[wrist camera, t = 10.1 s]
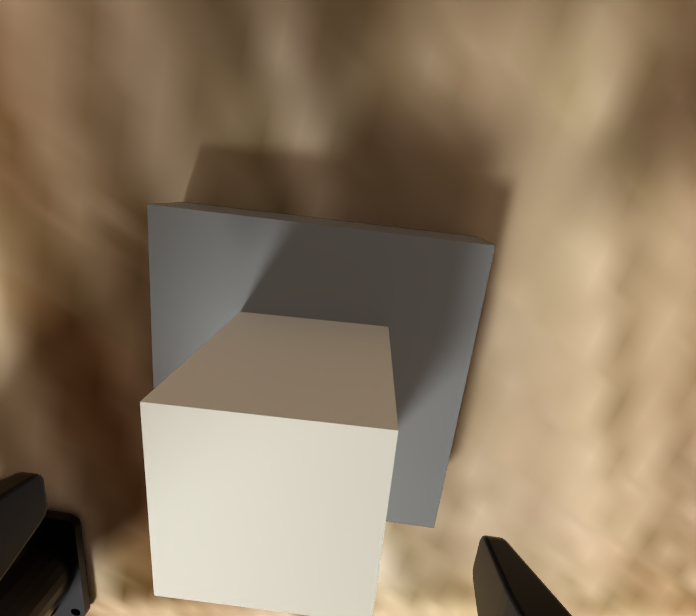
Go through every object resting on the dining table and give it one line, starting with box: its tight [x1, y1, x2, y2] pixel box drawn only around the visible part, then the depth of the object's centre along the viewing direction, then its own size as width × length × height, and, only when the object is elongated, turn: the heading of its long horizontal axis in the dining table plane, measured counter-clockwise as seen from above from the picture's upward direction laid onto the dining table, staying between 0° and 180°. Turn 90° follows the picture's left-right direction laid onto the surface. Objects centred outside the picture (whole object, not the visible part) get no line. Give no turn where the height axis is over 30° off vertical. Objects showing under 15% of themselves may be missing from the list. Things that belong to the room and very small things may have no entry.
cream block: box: [140, 312, 398, 616], centre depth 11 cm, size 5×5×6 cm
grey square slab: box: [147, 202, 495, 528], centre depth 15 cm, size 11×11×3 cm
